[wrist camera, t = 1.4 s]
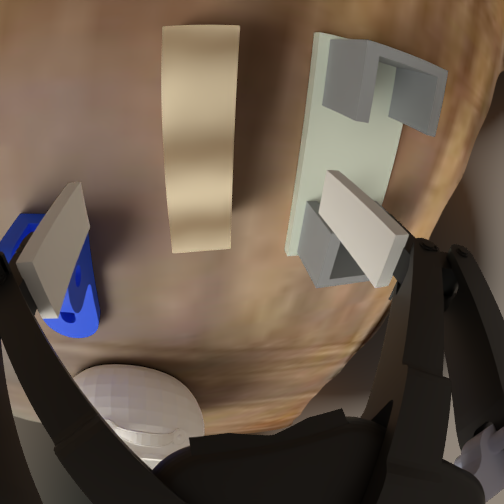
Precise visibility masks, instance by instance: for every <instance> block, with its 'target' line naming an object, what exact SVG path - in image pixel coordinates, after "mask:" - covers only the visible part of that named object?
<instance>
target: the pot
mask: <svg viewBox="0 0 504 504" xmlns="http://www.w3.org/2000/svg"><path fill="white" fill-rule="evenodd" d="M73 379H74V381H75V382H76V384H77V385H78V386H79V388H80V389H81V391H82V392H83V393H84V395H85V396H86V397H87V399H88V400H89V401H90V402H91V404H92V405H93V406H94V408H95V409H96V410H97V411H98V412H99V414H100V415H101V416H102V417H103V419H104V420H105V421H106V422H107V423H108V424H109V426H110V427H111V428H112V429H113V430H114V431H115V432H116V434H117V435H118V436H119V437H120V438H121V439H122V440H123V441H124V442H125V443H126V445H127V446H128V447H129V448H130V449H131V450H132V451H133V452H134V453H135V454H136V455H137V456H138V457H139V458H140V459H141V460H142V461H143V462H144V463H146V464H147V465H148V466H149V467H150V468H151V469H152V470H153V468H154V467H155V466H156V465H157V464H158V463H159V462H160V461H162V460H163V459H164V458H165V457H167V456H168V455H170V454H172V453H173V452H175V451H177V450H179V449H182V448H184V447H187V446H190V443H189V437H199V436H204V433H205V432H204V421H203V416H202V412H201V410H200V407H199V405H198V403H197V400H196V399H195V397H194V396H193V394H192V393H191V392H190V390H189V389H188V388H187V387H186V386H185V385H184V384H182V383H181V382H180V381H178V380H177V379H176V378H174V377H172V376H170V375H168V374H166V373H163V372H160V371H157V370H154V369H150V368H146V367H141V366H134V365H122V364H110V365H100V366H94V367H91V368H88V369H86V370H84V371H82V372H81V373H79V374H78V375H76V376H75V377H74V378H73Z"/></svg>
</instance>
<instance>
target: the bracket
mask: <svg viewBox="0 0 504 504" xmlns="http://www.w3.org/2000/svg"><path fill="white" fill-rule="evenodd" d="M44 216H45V214H20V215H19V216H18V217H17V219H16V220H15V221H14V223H13V224H12V226H11V227H10V228H9V230H8V231H7V233H6V234H5V236H4V237H3V239H2V240H1V242H0V251H1V252H3V253H4V255H5V257H6V259H7V262H8V264H9V262H10V260H11V259H12V257H13V255H14V254H15V252H16V250H17V248H19V245H20V244H21V242H22V240H23V239H24V238H25V237H26V236H27V235H28V234H29V233H30V232H34V231H35V230H36V228H37V226H38V225H39V223H40V222H41V220H42V219H43V217H44ZM99 319H100V306H99V301H98V296H97V290H96V284H95V279H94V272H93V266H92V259H91V251H90V243H89V234H87V236H86V239H85V241H84V244H83V246H82V249H81V251H80V254H79V257H78V259H77V262H76V265H75V268H74V270H73V273H72V276H71V279H70V282H69V285H68V288H67V291H66V294H65V297H64V300H63V304H62V307H61V310H60V314H59V317H58V318H53V319H43V320H44V321H45V322H46V324H47V325H48V326H49V327H50V328H52V329H53V330H55V331H56V332H58V333H60V334H62V335H65V336H68V337H73V338H84V337H88V336H91V335H92V334H94V333H95V332H96V331H97V329H98V325H99Z"/></svg>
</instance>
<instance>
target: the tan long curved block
mask: <svg viewBox="0 0 504 504" xmlns="http://www.w3.org/2000/svg"><path fill="white" fill-rule="evenodd" d="M239 36H240V26H237V25H180V26H164V27H163V29H162V129H163V150H164V167H165V181H166V194H167V205H168V216H169V225H170V235H171V243H172V252H173V253H184V252H196V251H208V250H220V249H231V212H232V180H233V153H234V129H235V107H236V87H237V69H238V52H239Z"/></svg>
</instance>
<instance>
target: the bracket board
mask: <svg viewBox="0 0 504 504" xmlns="http://www.w3.org/2000/svg"><path fill="white" fill-rule="evenodd" d="M447 75H448V71H447V70H445V69H443V68H440V67H438V66H436V65H434V64H432V63H429V62H427V61H425V60H422V59H420V58H418V57H415V56H413V55H410V54H408V53H405V52H402V51H400V50H397V49H394V48H391V47H389V46H386V45H383V44H380V43H377V42H373V41H370V40H363V39H347V38H343V37H339V36H335V35H331V34H326V33H322V32H316V33H314V39H313V49H312V58H311V67H310V75H309V84H308V92H307V100H306V108H305V116H304V123H303V131H302V138H301V146H300V153H299V160H298V167H297V174H296V180H295V187H294V194H293V200H292V207H291V213H290V219H289V225H288V232H287V238H286V244H285V252H286V254H287V256H297V255H299V257H300V259H301V261H302V262H303V264H304V266H305V268H306V270H307V272H308V274H309V276H310V277H311V279H312V281H313V283H314V285H315V287H316V288H321V287H329V286H336V285H344V284H351V283H358V282H365V281H370V280H369V279H368V278H367V276H366V275H365V273H364V272H363V271H362V269H361V268H360V267H359V265H358V264H357V262H356V261H355V260H354V258H353V257H352V256H351V254H350V253H349V252H348V250H347V249H346V248H345V246H344V245H343V244H342V242H341V241H340V240H339V239H338V237H337V236H336V235H335V233H334V232H333V231H332V230H331V228H330V227H329V226H328V224H327V223H326V222H325V221H324V219H323V218H322V217H321V216H320V214H319V213H318V212H319V207H320V202H321V197H322V192H323V187H324V181H325V176H326V170H339V171H340V172H341V173H342V174H343V175H345V176H346V177H347V178H348V179H349V180H351V181H352V182H353V183H354V184H355V185H356V186H358V187H359V188H360V189H361V190H362V191H363V192H364V193H366V194H367V195H368V196H369V197H370V198H371V199H372V200H373V201H375V202H376V203H377V204H378V205H379V206H380V207H381V208H382V209H383V210H384V211H386V210H385V209H384V208H383V207H382V203H383V200H384V196H385V193H386V189H387V186H388V182H389V179H390V175H391V171H392V167H393V164H394V160H395V156H396V152H397V148H398V143H399V139H400V135H401V130H402V126H403V124H405V125H407V126H410V127H412V128H414V129H416V130H418V131H420V132H422V133H424V134H426V135H429V136H433V137H435V134H436V130H437V126H438V121H439V117H440V112H441V108H442V103H443V97H444V92H445V87H446V81H447ZM386 212H387V211H386Z"/></svg>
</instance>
